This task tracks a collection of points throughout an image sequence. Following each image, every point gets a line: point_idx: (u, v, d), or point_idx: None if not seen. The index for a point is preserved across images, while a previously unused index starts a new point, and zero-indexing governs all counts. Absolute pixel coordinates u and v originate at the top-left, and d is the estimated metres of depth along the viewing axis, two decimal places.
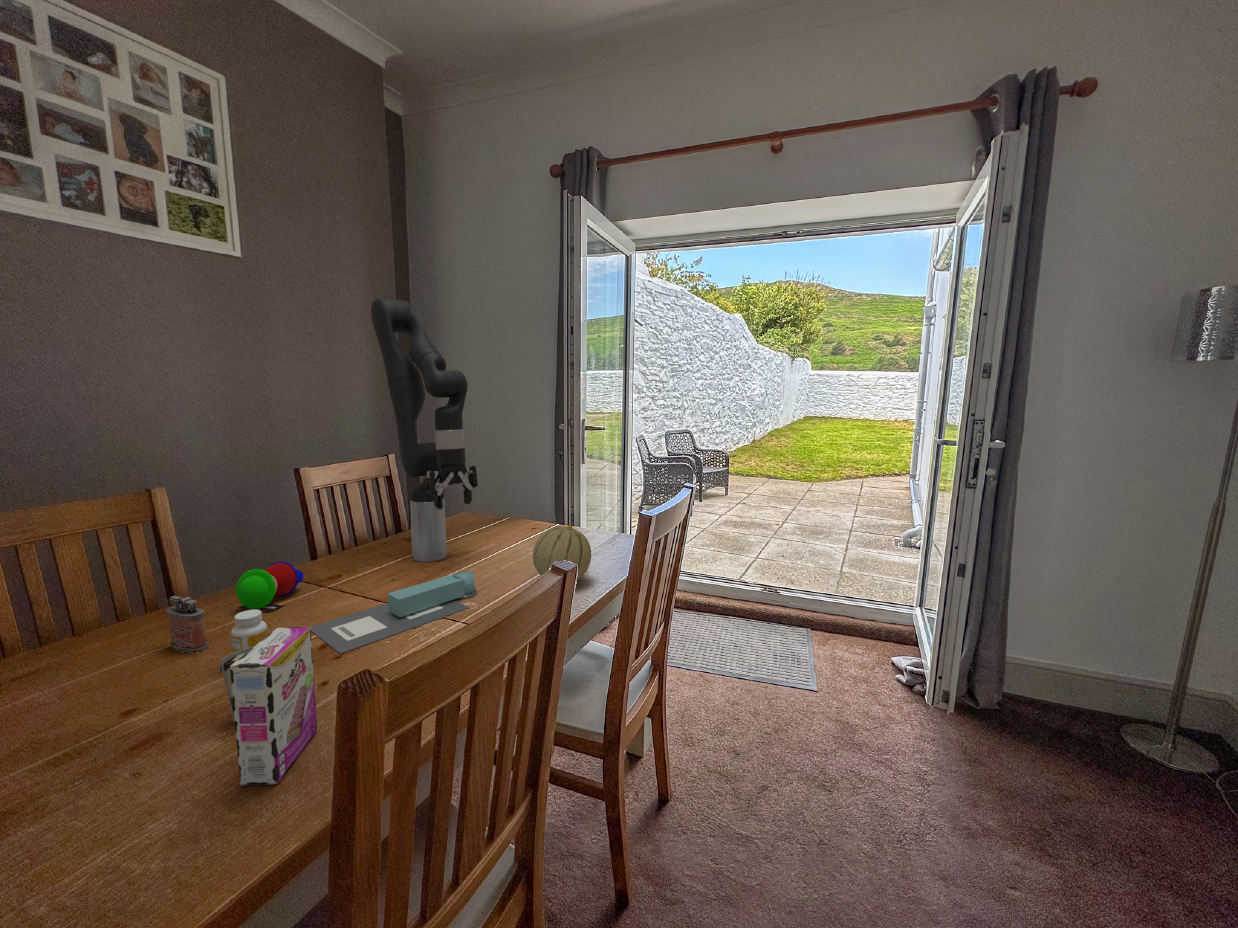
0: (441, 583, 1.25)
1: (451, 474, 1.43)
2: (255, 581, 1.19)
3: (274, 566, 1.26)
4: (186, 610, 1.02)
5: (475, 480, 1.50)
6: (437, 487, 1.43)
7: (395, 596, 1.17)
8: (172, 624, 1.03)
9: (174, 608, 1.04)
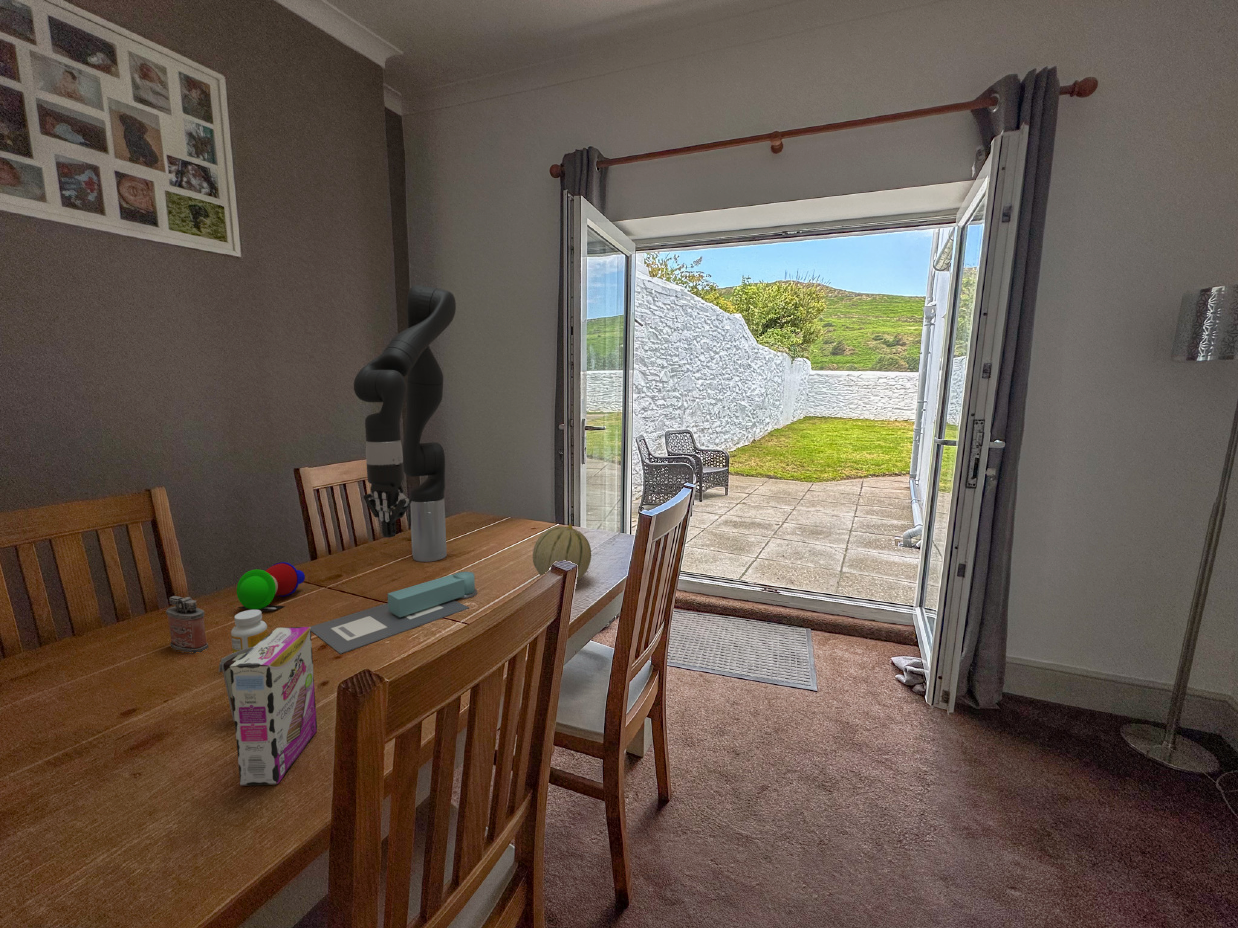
0: (441, 583, 1.25)
1: None
2: (255, 582, 1.18)
3: (275, 566, 1.26)
4: (186, 610, 1.02)
5: None
6: None
7: (395, 596, 1.17)
8: (172, 624, 1.03)
9: (174, 608, 1.04)
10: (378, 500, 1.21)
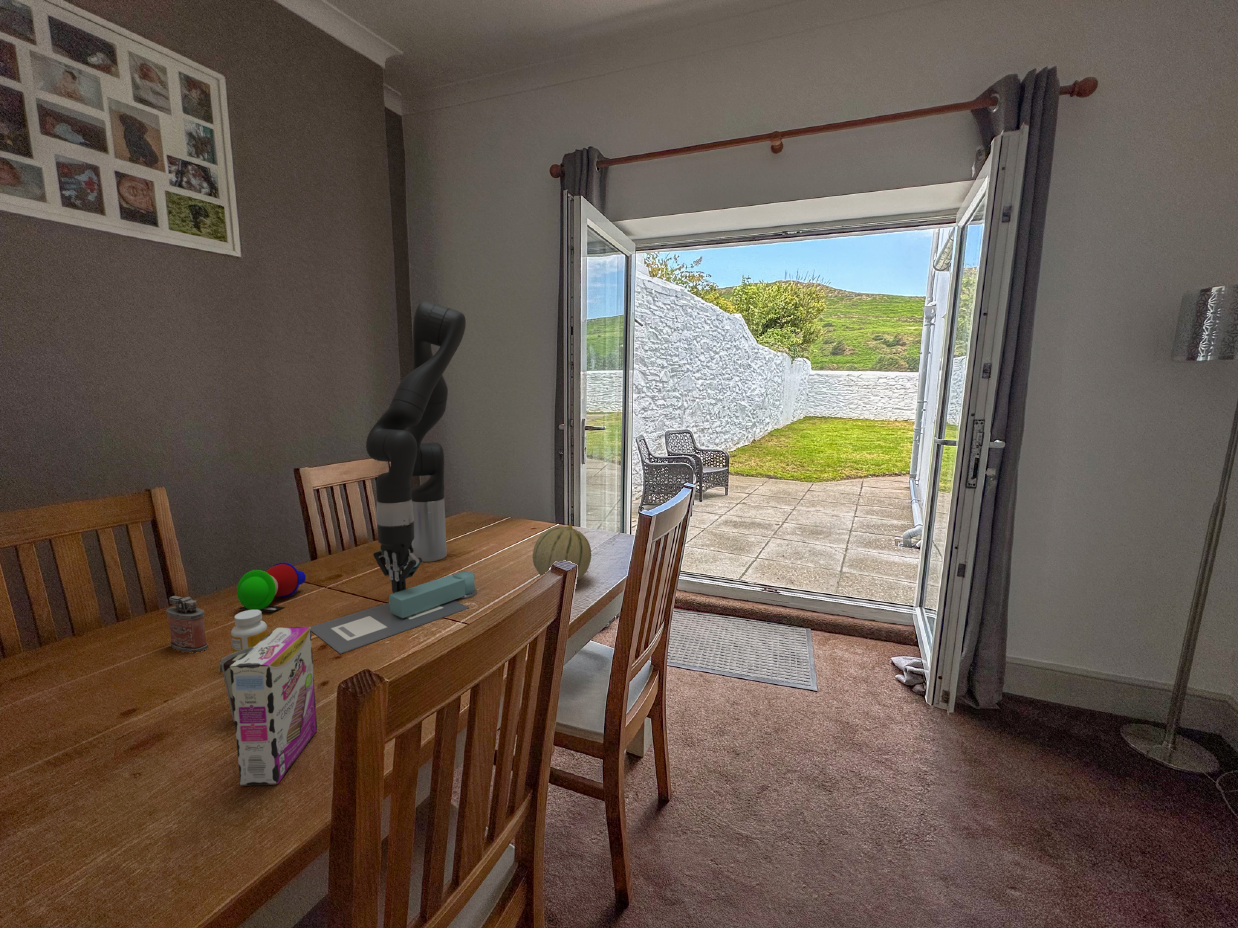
0: (442, 583, 1.25)
1: None
2: (255, 582, 1.18)
3: (276, 567, 1.26)
4: (186, 610, 1.02)
5: None
6: None
7: (397, 597, 1.17)
8: (172, 624, 1.03)
9: (174, 608, 1.04)
10: (388, 559, 1.20)
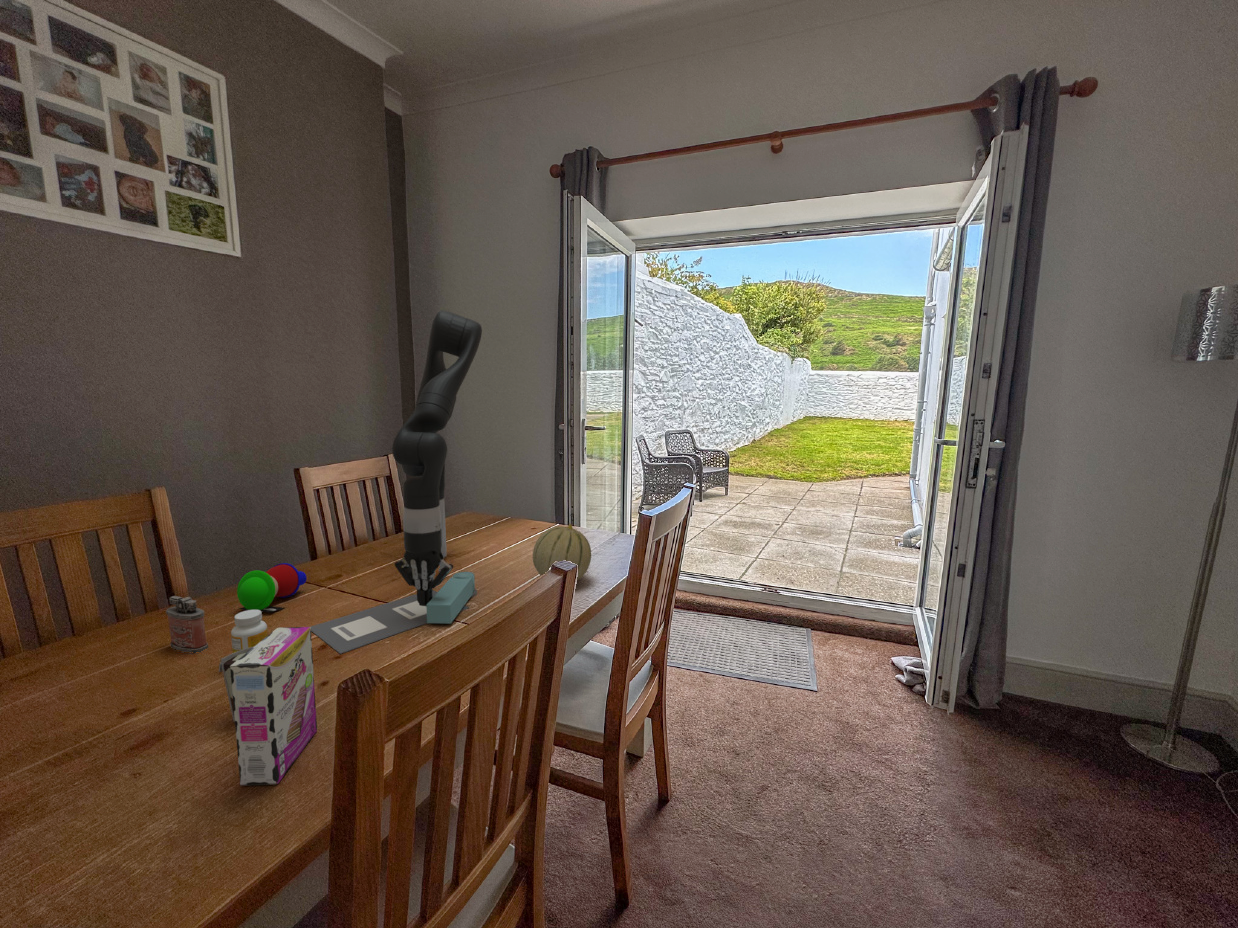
0: (458, 585, 1.24)
1: None
2: (255, 583, 1.18)
3: (276, 567, 1.25)
4: (186, 610, 1.02)
5: None
6: None
7: (440, 604, 1.13)
8: (172, 624, 1.03)
9: (174, 608, 1.04)
10: (415, 568, 1.14)
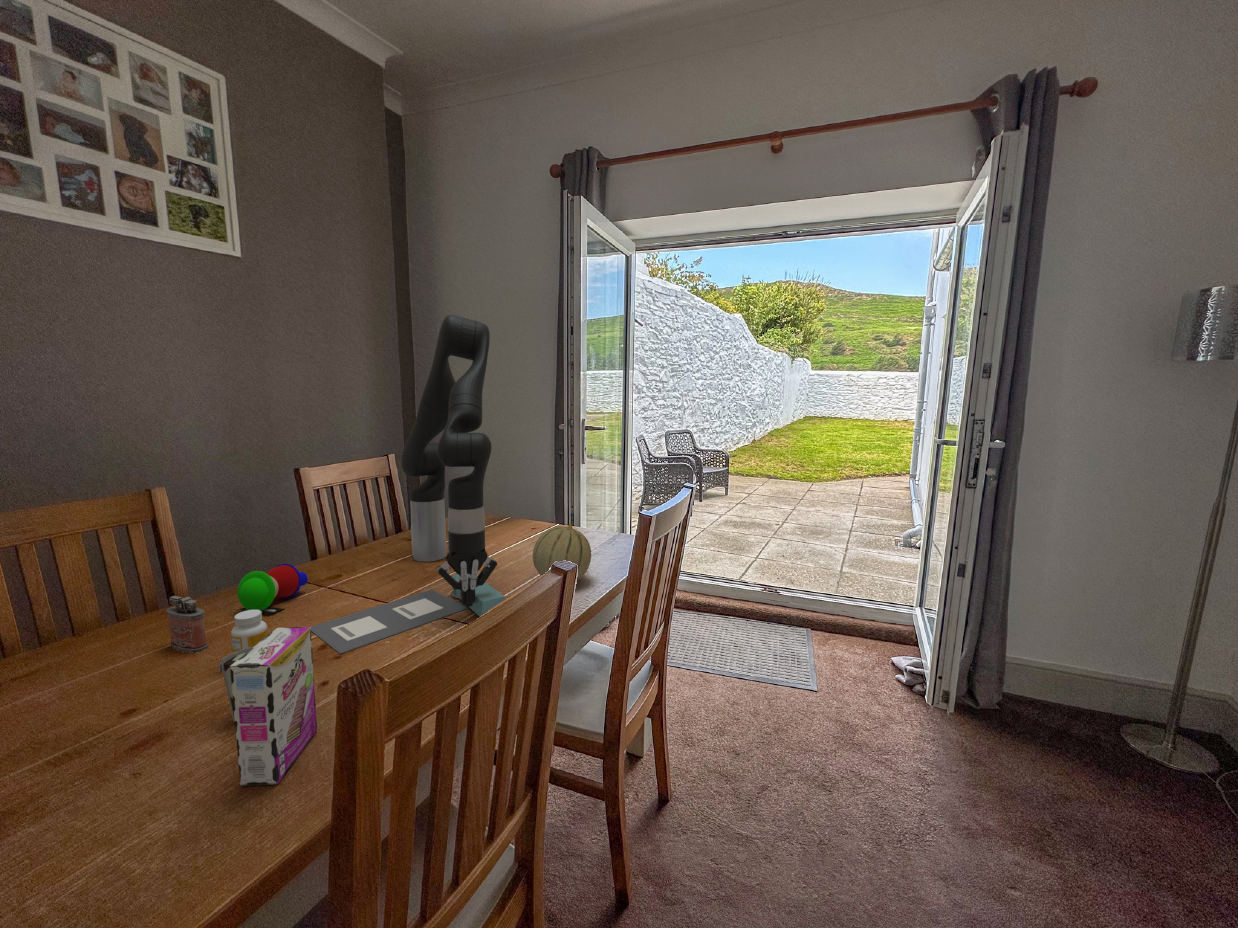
0: None
1: None
2: (255, 583, 1.17)
3: (277, 568, 1.25)
4: (186, 610, 1.02)
5: None
6: None
7: (494, 598, 1.17)
8: (172, 624, 1.03)
9: (174, 608, 1.04)
10: (465, 569, 1.14)
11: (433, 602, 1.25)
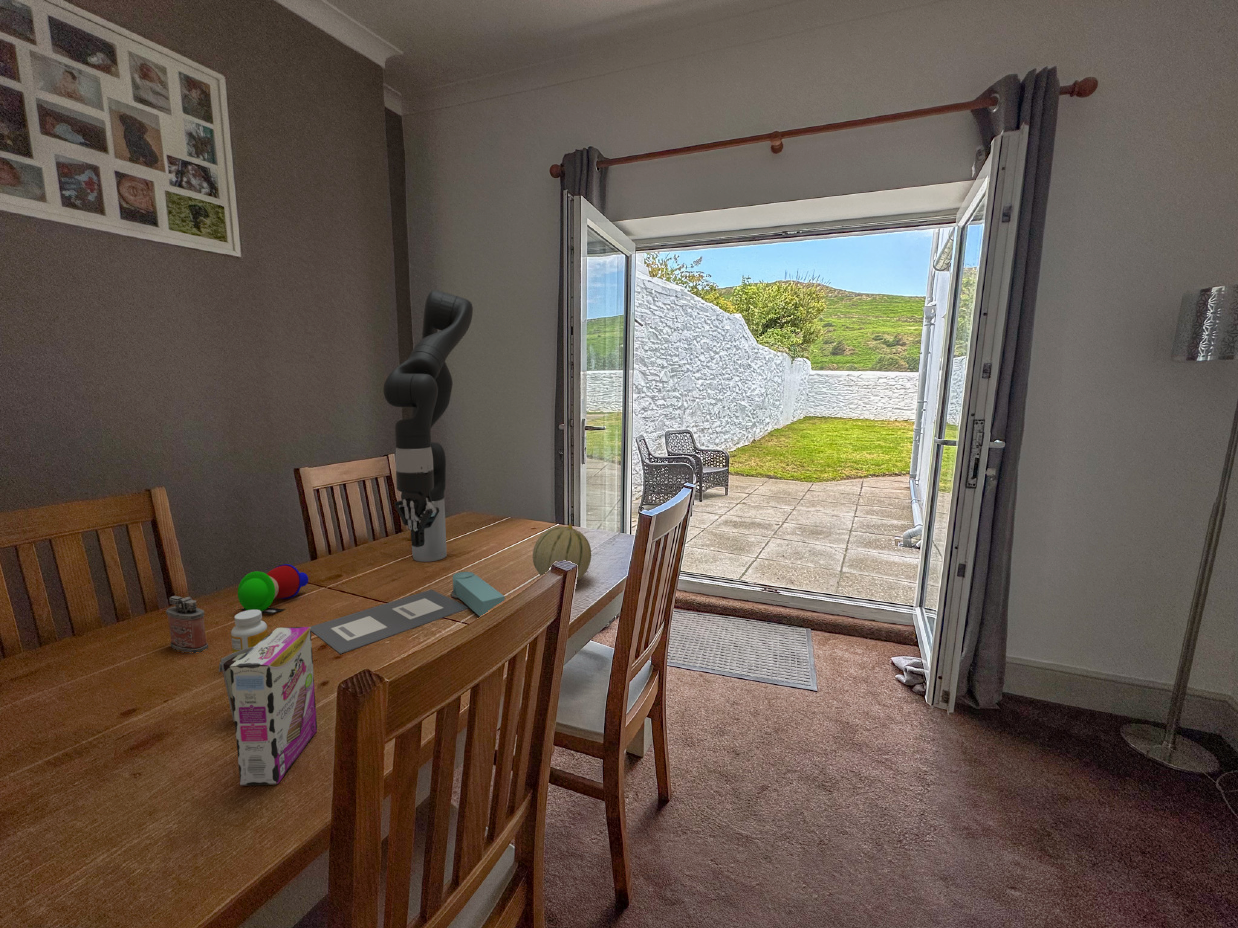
0: (477, 582, 1.26)
1: None
2: (255, 584, 1.17)
3: (277, 569, 1.25)
4: (186, 610, 1.02)
5: None
6: None
7: (494, 598, 1.17)
8: (172, 624, 1.03)
9: (174, 608, 1.04)
10: (407, 508, 1.17)
11: (433, 602, 1.25)
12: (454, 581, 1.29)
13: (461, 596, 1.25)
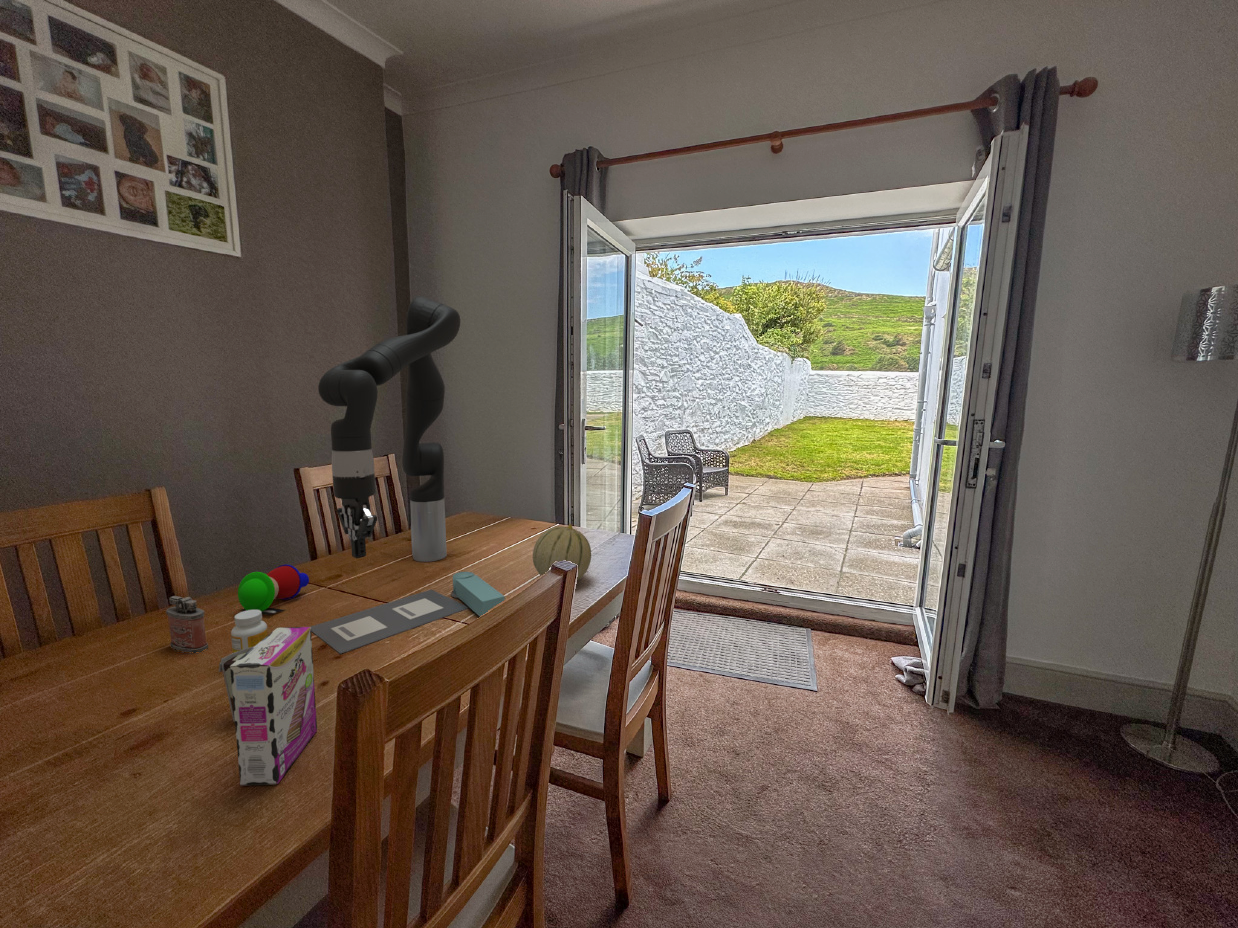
0: (477, 582, 1.26)
1: None
2: (254, 584, 1.17)
3: (278, 569, 1.25)
4: (186, 610, 1.02)
5: None
6: None
7: (494, 598, 1.17)
8: (172, 624, 1.03)
9: (174, 608, 1.04)
10: (346, 516, 1.08)
11: (433, 602, 1.25)
12: (454, 581, 1.29)
13: (461, 596, 1.25)
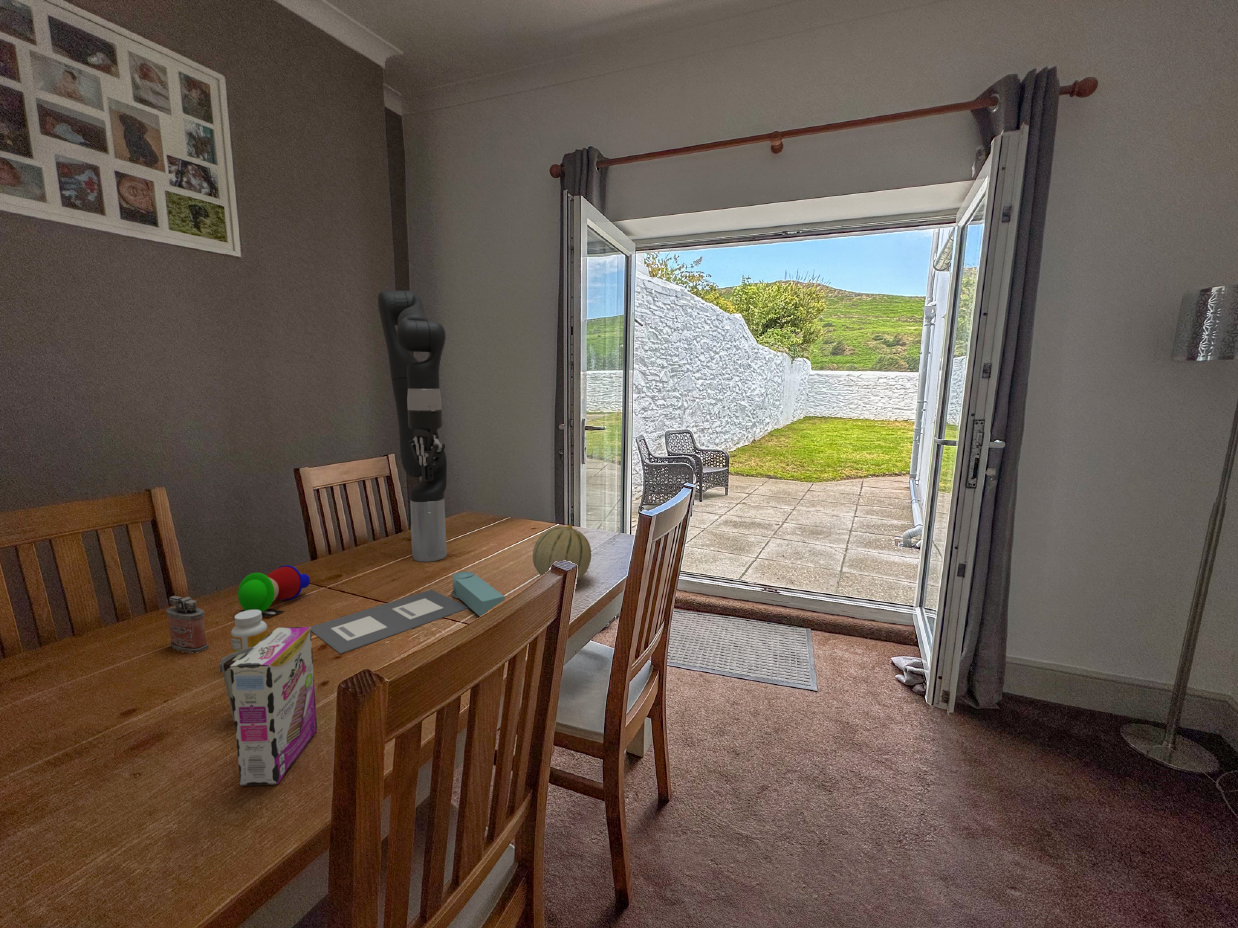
0: (477, 582, 1.26)
1: None
2: (254, 585, 1.16)
3: (278, 570, 1.24)
4: (186, 610, 1.02)
5: None
6: None
7: (494, 598, 1.17)
8: (172, 624, 1.03)
9: (174, 608, 1.04)
10: (418, 445, 1.28)
11: (433, 602, 1.25)
12: (454, 581, 1.29)
13: (461, 596, 1.25)
